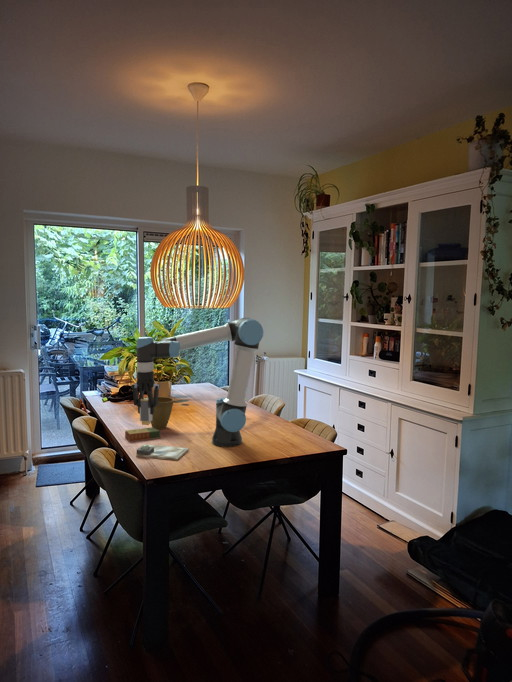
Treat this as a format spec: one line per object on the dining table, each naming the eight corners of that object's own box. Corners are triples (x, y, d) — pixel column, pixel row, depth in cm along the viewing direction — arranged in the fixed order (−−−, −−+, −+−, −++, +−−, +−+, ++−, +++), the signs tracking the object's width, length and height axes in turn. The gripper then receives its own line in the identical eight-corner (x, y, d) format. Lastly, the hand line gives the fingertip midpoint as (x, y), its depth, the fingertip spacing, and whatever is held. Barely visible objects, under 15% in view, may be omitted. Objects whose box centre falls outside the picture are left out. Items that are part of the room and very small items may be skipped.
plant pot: (156, 433, 267) (157, 403, 266) (140, 427, 277) (140, 399, 276) (178, 427, 278) (179, 399, 276) (162, 422, 288) (162, 395, 286)
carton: (125, 438, 259) (125, 429, 258) (154, 434, 267) (154, 426, 266) (129, 442, 251) (129, 434, 251) (160, 438, 260) (160, 430, 259)
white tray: (188, 450, 241) (188, 444, 240) (177, 460, 226) (177, 454, 226) (149, 446, 245) (149, 440, 244) (136, 456, 230) (136, 449, 230)
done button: (149, 451, 234) (149, 444, 233) (146, 453, 231) (147, 446, 230) (143, 450, 234) (143, 444, 234) (140, 452, 231) (140, 446, 231)
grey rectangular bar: (151, 423, 233) (151, 397, 231) (148, 425, 229) (147, 399, 228) (144, 422, 233) (143, 397, 232) (140, 424, 230) (140, 399, 229)
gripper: (165, 370, 230) (166, 419, 233) (132, 368, 234) (133, 417, 236) (159, 372, 223) (159, 424, 226) (124, 371, 227) (125, 421, 229)
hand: (146, 420), depth 231 cm, fingers closed on grey rectangular bar, 3 cm apart
